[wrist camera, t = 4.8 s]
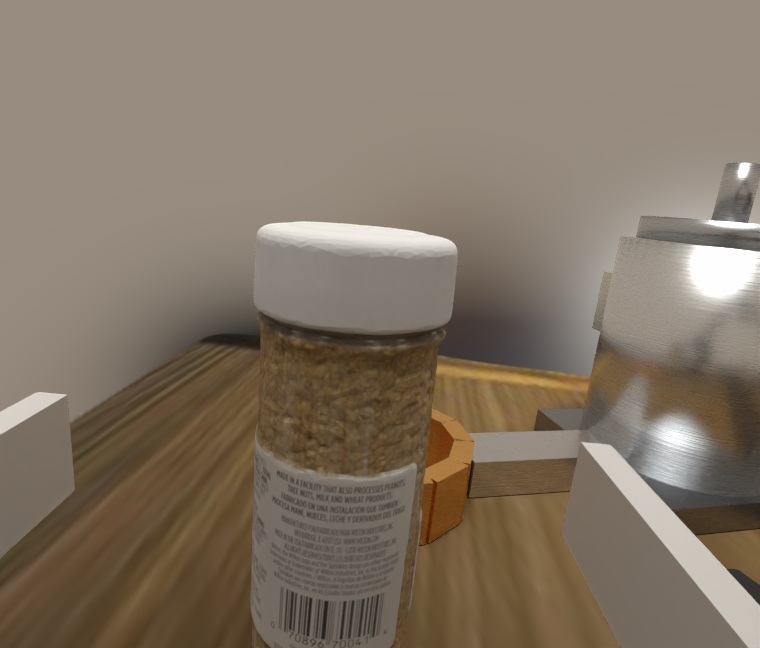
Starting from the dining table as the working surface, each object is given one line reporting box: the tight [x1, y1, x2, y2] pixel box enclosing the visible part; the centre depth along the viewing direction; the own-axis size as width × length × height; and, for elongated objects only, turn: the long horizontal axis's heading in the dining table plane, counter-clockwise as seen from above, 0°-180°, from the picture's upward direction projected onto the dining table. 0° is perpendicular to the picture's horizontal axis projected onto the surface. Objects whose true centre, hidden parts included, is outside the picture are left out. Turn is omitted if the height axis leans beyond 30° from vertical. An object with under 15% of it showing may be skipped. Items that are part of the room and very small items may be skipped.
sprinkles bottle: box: [251, 222, 458, 648], centre depth 12 cm, size 5×5×14 cm
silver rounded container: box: [419, 163, 760, 545], centre depth 25 cm, size 28×12×18 cm, turn 104°
